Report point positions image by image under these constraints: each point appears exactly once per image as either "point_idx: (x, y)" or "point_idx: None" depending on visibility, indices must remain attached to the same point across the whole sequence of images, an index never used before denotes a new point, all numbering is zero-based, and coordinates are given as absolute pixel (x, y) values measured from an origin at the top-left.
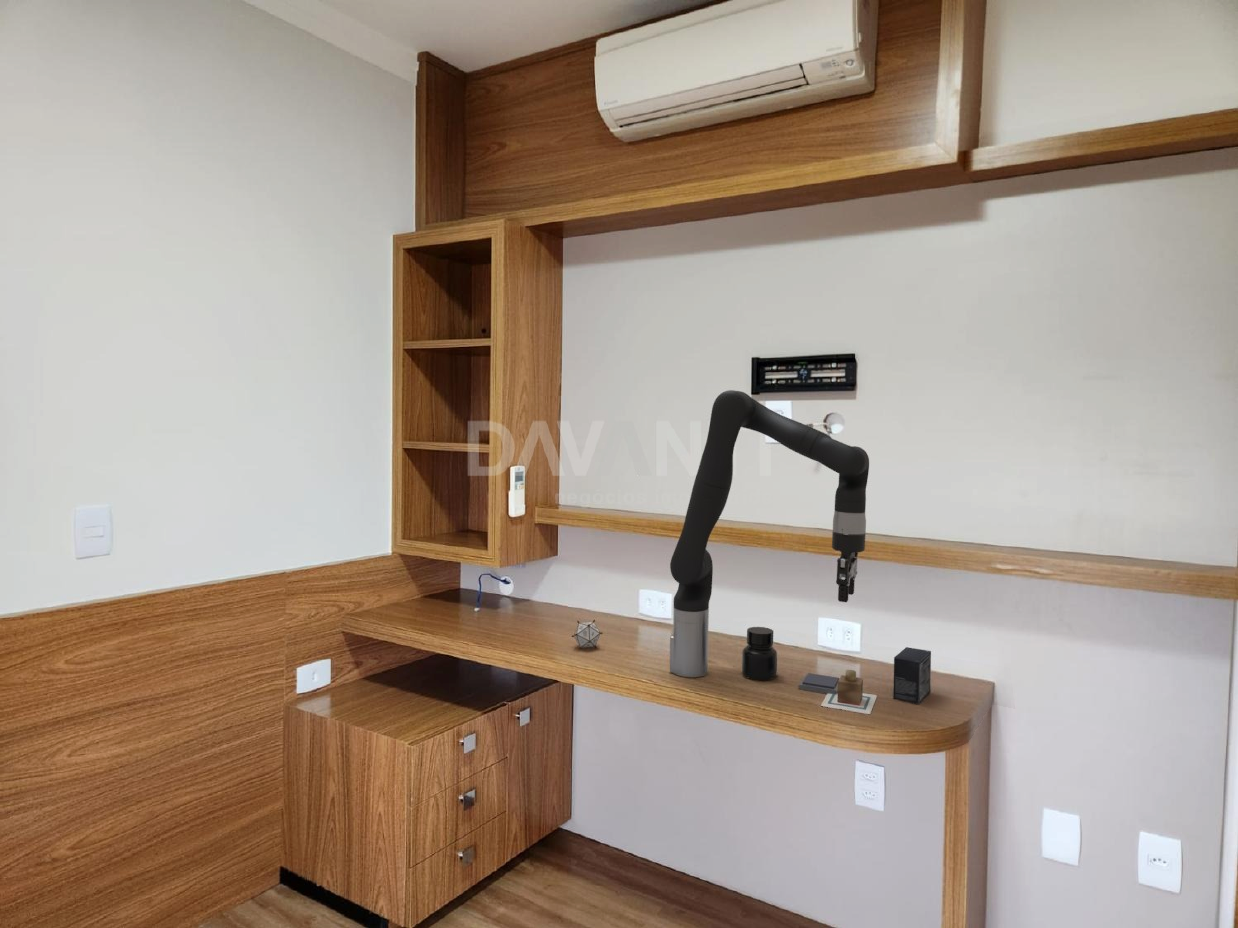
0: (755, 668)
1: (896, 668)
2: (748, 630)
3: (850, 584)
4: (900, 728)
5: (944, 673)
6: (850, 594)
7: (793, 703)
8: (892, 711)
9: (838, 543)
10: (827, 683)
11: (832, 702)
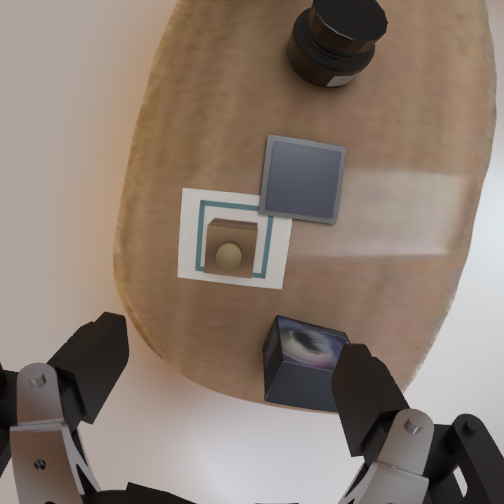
0: (289, 41)
1: (278, 351)
2: None
3: (351, 413)
4: (143, 318)
5: (413, 374)
6: (334, 370)
7: (180, 136)
8: (211, 312)
9: None
10: (284, 194)
11: (208, 208)
